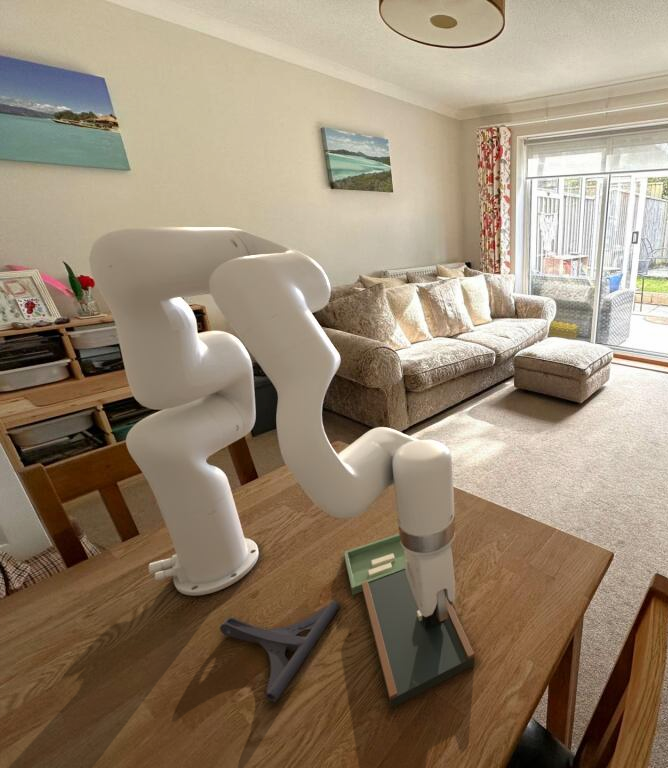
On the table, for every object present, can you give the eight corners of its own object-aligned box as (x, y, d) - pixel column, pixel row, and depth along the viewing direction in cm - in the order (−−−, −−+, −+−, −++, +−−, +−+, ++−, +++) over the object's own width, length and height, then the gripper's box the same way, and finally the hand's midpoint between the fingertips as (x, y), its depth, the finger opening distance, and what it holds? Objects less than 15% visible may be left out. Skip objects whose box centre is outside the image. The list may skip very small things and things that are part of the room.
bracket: (261, 592, 69) (257, 580, 68) (340, 608, 66) (338, 596, 65) (182, 680, 56) (176, 667, 55) (278, 703, 53) (273, 690, 52)
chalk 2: (367, 570, 72) (368, 574, 72) (369, 575, 71) (369, 579, 71) (390, 562, 74) (391, 566, 74) (392, 566, 73) (392, 570, 73)
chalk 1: (371, 560, 74) (371, 564, 74) (372, 564, 73) (372, 569, 73) (393, 553, 76) (393, 557, 76) (394, 557, 75) (395, 561, 75)
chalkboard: (391, 708, 53) (389, 697, 52) (363, 593, 69) (361, 583, 68) (474, 665, 58) (474, 653, 58) (430, 567, 75) (429, 557, 74)
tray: (352, 595, 69) (351, 588, 68) (344, 558, 76) (343, 551, 76) (437, 562, 76) (437, 556, 75) (422, 531, 83) (422, 525, 83)
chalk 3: (419, 621, 63) (418, 616, 62) (417, 615, 64) (416, 610, 63) (443, 611, 64) (443, 606, 64) (441, 605, 65) (441, 600, 65)
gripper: (387, 504, 60) (397, 594, 67) (416, 576, 48) (425, 678, 55) (435, 490, 63) (441, 577, 70) (474, 554, 51) (476, 652, 58)
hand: (434, 621), depth 62 cm, fingers closed
